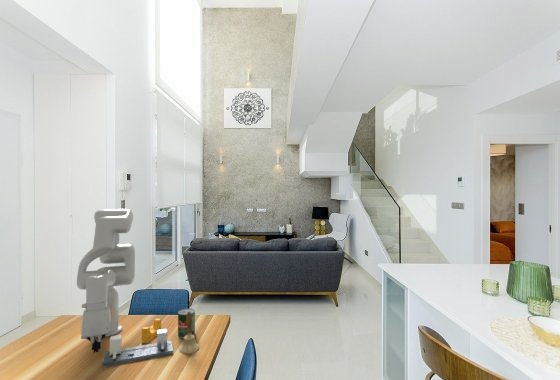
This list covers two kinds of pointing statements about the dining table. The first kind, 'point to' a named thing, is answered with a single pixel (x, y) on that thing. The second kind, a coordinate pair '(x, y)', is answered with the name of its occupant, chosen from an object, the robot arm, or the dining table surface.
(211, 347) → the dining table surface
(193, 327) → the canned tomato
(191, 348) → the hand bell
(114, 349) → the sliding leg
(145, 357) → the plate
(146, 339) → the pipe clamp
